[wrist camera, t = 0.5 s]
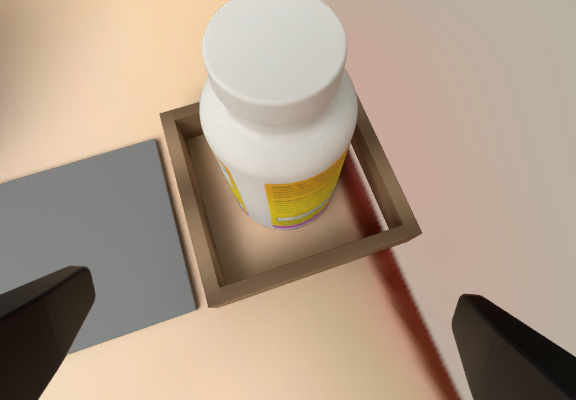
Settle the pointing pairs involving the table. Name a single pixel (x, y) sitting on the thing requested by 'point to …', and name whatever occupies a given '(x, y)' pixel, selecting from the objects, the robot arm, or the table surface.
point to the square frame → (218, 294)
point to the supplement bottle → (278, 106)
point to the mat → (100, 238)
